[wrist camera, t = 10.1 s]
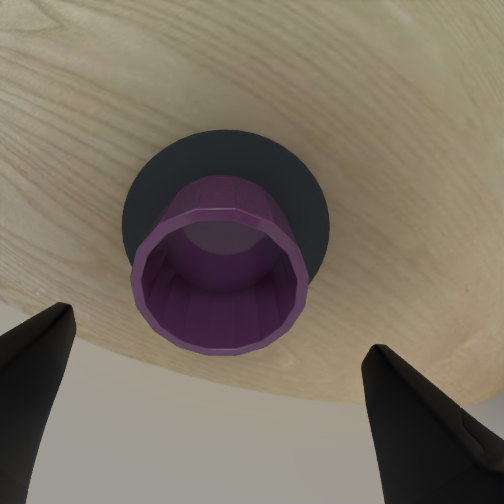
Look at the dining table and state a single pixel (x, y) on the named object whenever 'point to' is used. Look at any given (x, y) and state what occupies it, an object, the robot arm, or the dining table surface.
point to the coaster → (237, 164)
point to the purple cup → (220, 269)
